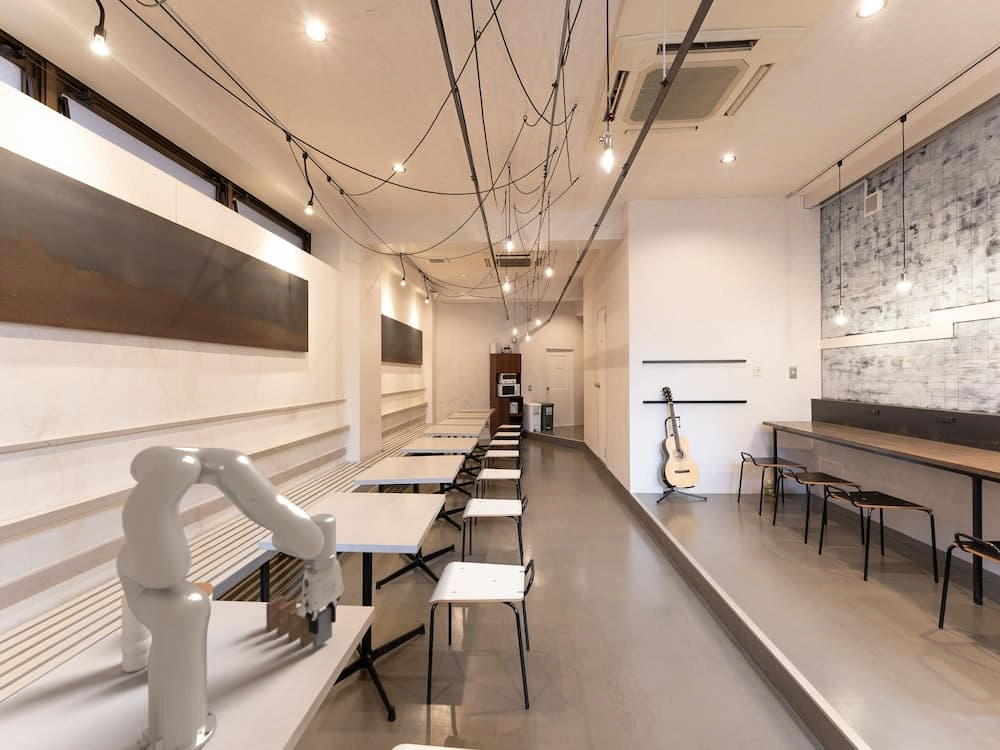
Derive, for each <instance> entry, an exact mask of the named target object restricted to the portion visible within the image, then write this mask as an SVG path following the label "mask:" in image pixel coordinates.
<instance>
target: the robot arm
mask: <svg viewBox="0 0 1000 750" xmlns="http://www.w3.org/2000/svg"><path fill="white" fill-rule="evenodd" d="M129 471H130V472H129V473H130V475H131V477H132V478H133V480H135V482H137V484H136V485H135V486H134V488H133V489H132V491H131V492H130V493H129V495H128V497H127V498H126V500H125V503H124V505H123V507H122V511H121V523H122V529H123V533H124V538H125V542H124V543H123V544H122V546H121V547H120V549H119V550H118V553H117V556H116V559H115V560H116V561H115V566H116V571H117V575H118V578H119V582H120V584H121V587H122V591H123V593H124V594H125V597H126V600H127V603H128V605H129V608H130V610H131V612H132V614H133V616H134V617H135V618H136V619H137V620H138V621H139V622H140V623H142V624H143V625H144V626H145V627H146V628H148V629H149V630H150V632H151V635H152V643H151V647H150V651H149V656H148V666H147V692H148V693H147V694H148V695H147V700H148V701H147V704H148V706H147V707H148V709H147V711H148V713H147V714H148V719H147V720H148V725H147V726H148V727H147V728H146V729H145V730H143V731H142V733H141V735H142V738H140V739H138V740H137V741H136V744H135V745H133V746H132V747H130V748H127V750H201V748H202V747H204V745H206V743H208V741H209V740H210V739H211V738H212V737H213V735H214V733H215V731H216V729H217V716H216V715H215V713H214V712H212V711H211V710H208V650H207V648H208V629H209V623H210V618H211V613H212V603H210V599H209V597H208V595H207V594H206V593H205V591H203V590H202V589H201V588H200V587H198V586H196V585H195V584H193V583H194V582H193V583H192V582H191V581H189V580H187V579H185V578H186V576H187V575H188V573H189V572H190V569H191V565H192V553H191V550H190V547H189V544H188V540H187V537H186V533H185V531H184V527H183V523H182V518H181V514H180V506H181V503H182V500H183V498H184V497H185V495H186V494H187V492H188V491H189V490H190V489H191V488H192V486H193V485H199V484H201V485H203V484H204V485H205V484H206V485H207V484H208V485H211V486H214V487H216V488H217V489H218V490H219V491H220V492H221V493H222V494H223V495H224V496H225V497H226V498H227V499H228V500H229V501H230V502H231V503H232V504H233V505H234V506H235V508H237V509H238V510H239V512H240V513H241V514H243V516H245V518H247V519H248V520H250V521H251V522H253V523H254V524H256V525H258V526H260V527H262V528H264V529H266V530H268V531H270V532H272V533H273V534H272V535H271V543H272V544H271V545H272V546H273V548H274V549H276V550H277V551H278V552H281V553H283V554H286V555H288V556H291V557H295V558H297V559H299V560H304V561H306V563H305V564H304V565H303V569H304V575H303V580H302V587H301V588H302V590H301V604H300V608H299V610H298V612H297V615H299V616H302V617H306V618H307V619H308V630H309V632H311V633H313V634H318V632H319V620H318V619H317V613H318V610H319V611H320V609H323V608H324V607H325V608H327V607H329V608H332V609H331V619H332V624H334V623H336V621H337V620H336V618H337V611H336V608H338V604H339V600H340V599H341V598H342V597H341V596H342V595H343V592H344V591H345V588H346V587H345V586H344V584H343V575H342V568H341V565H340V562H339V560H337V520H336V516H334V515H333V514H331V513H319V514H315V515H313V516H311V517H310V516H309V515H308V514H307V513H306V511H304V510H303V509H302V508H300V507H299V506H298V505H297V504H295V503H294V502H293V501H292V500H291V499H290V498H288V497H287V496H286V495H285V494H283V493H282V492H281V491H280V490H279V489H278V488H277V487H276V486H275V485H274V484H273V483H272V481H270V479H269V478H268V476H267V475H266V474H265V473H263V471H262V470H261V469H260V468H259V466H258V465H257V464H256V463H255V462H254V461H253V459H251V457H250V456H248V454H245V453H244V452H242V451H240V450H239V451H238V450H234V449H228V448H222V447H194V446H175V445H154V446H150V447H147V448H145V449H143V450H141V451H139V452H138V453H137V454H136V455H135V456H134V458H133V459H132V460H131V463H130V468H129ZM124 594H123V595H124ZM307 607H308V609H307V612H306V608H307ZM312 611H313V614H311V613H312Z"/></svg>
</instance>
